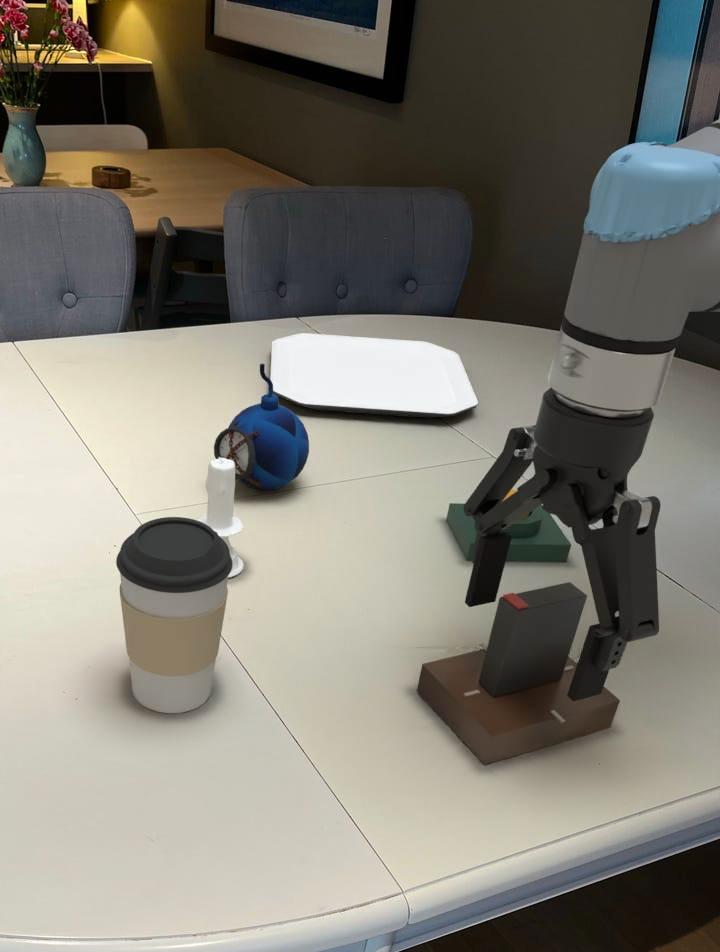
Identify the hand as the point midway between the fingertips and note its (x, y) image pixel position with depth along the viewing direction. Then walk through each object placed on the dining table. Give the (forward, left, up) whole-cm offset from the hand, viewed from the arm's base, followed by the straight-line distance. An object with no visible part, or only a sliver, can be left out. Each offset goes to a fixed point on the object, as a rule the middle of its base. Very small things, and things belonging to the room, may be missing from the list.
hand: (528, 646), depth 81 cm
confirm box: (-8, -29, -7) cm, 31 cm away
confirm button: (-8, -29, -3) cm, 30 cm away
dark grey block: (0, 0, -4) cm, 4 cm away
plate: (-1, -75, -7) cm, 75 cm away
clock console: (0, 0, -7) cm, 7 cm away
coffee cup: (+29, -3, -7) cm, 30 cm away
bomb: (+18, -41, -7) cm, 45 cm away
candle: (+24, -23, -7) cm, 34 cm away
